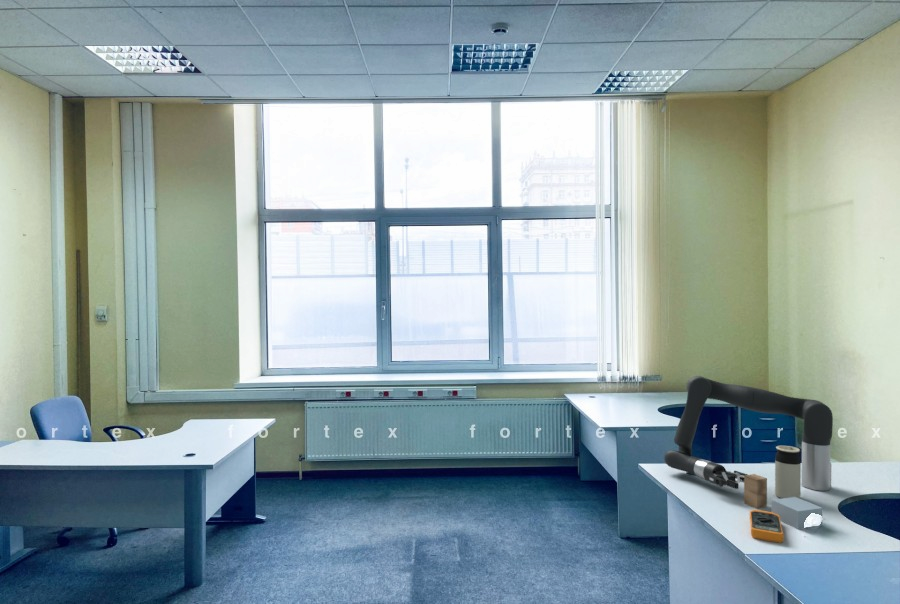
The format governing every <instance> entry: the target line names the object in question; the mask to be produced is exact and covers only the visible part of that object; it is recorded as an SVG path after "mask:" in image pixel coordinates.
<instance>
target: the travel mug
mask: <svg viewBox="0 0 900 604" xmlns="http://www.w3.org/2000/svg"><path fill="white" fill-rule="evenodd" d="M775 448H776V451H777V452H776V454H775V456H774V460H775V461H774V465H775V466H774V495H775V496H776V497H778V498H779V499H782V498H790V497H797V498H799V499H801V486H802V457H801V456H800V455H799V454H800V452H801V449H800V448H798V447H795V446H791V445H777V446H775Z"/></svg>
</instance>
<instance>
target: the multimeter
mask: <svg viewBox="0 0 900 604" xmlns="http://www.w3.org/2000/svg"><path fill="white" fill-rule="evenodd" d="M749 520H750V521H749V522H750V535H751V537H752V538H753V539H756V540H762V541H767V542H773V543H780V544H781V543H783V542H784V540H785V539H784V538H785V537H784V531H783V528H782V522H781V521H780V516H779V515H777V514H775V513H772V511H767V510H766V511H765V510H759V509H753V510H752V509H751V510H750V511H749Z"/></svg>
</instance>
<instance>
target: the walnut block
mask: <svg viewBox="0 0 900 604" xmlns="http://www.w3.org/2000/svg"><path fill="white" fill-rule="evenodd" d="M743 488H744V489H743V503H744V505H747V506H750V507H752V508H755V510H758V509H761V508H767V507H768V492H767V491H768V478H767V477H764V476H761V475H758V474H756V473H752V474H748V475H745V476H744V483H743Z"/></svg>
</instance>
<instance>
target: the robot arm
mask: <svg viewBox="0 0 900 604" xmlns="http://www.w3.org/2000/svg"><path fill="white" fill-rule="evenodd" d="M685 386H686V391H687V396H686V397H687V398H686V404H685V407H684V409H683V413H682V415H681V417H680V419H679V422H678V424H677V427H676V431H675V434H674V438H673V442H674V444H675V445H677V446H678V450H675V449H673V450H672V449H670V450H668V451H666V452H665V453H664V457H663V460H664V462H665V464H666V465H667V466H668V467H670V469H671V468H672V469H675V470H678V471H682V472H686V473H688V474H690V475H693V476H695V477H697V478H700V479H702V480H703V481H706V482H709V483H712V484H714V485H717V486H719V487H722V488H723V487H729V488H731V489H734V490H739V484H740V483H742V484H744V476H745V475H749V474H747V473H744V472H740V471H738V470H733V472H732V471H731V470H730V471H729V470H726V468H725V466H724V465H722V464H719V463H716V462H714V461H710V460H706V459H703V458H700V457H696V456H692V455H693V454H692V453H693V452H692V451H693V449H692V445H693V441H694V438H695V434H696V431H697V428H698V424H699V419H700V416H701V414H702V411H703V408H704V406H705V404H706V402H707V400H708V399H709V400H715V401H721V402H724V403H727V404H729V405H733V406H735V407H738V408H741V409H744V410H748V411H753V412H756V413H763V414H772V415H773V414H777V415H778V414H779V415H780V414H781V415H786V416H791V417H794V418H797V419H800V420H803V432H802V434H801V486H803V487H804V488H807V489H809V490H815V491H822V492H823V491H824V492H825V491H830V490H831V488H832V462H831V440H832V438H833V428H834V427H833V423H834V421H833V419H834V418H833V412H832V410H831V408H830V407H829V406H828V405H826V404H825V403H824V402H822V401H820V400H817V399H810V398H809V399H808V398H802V397H801V398H800V397H793V396H788V395H784V394H780V393H777V392H773V391H769V390H766V389H763V388H757V387H754V386H747V385H739V384H730V383H725V382H724V383H723V382H720V381H716V380H712V379H709V378H707V377H704V376H701V375H695V376H692V377H690V378H689V380H688V381H687V382H686V385H685Z"/></svg>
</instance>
